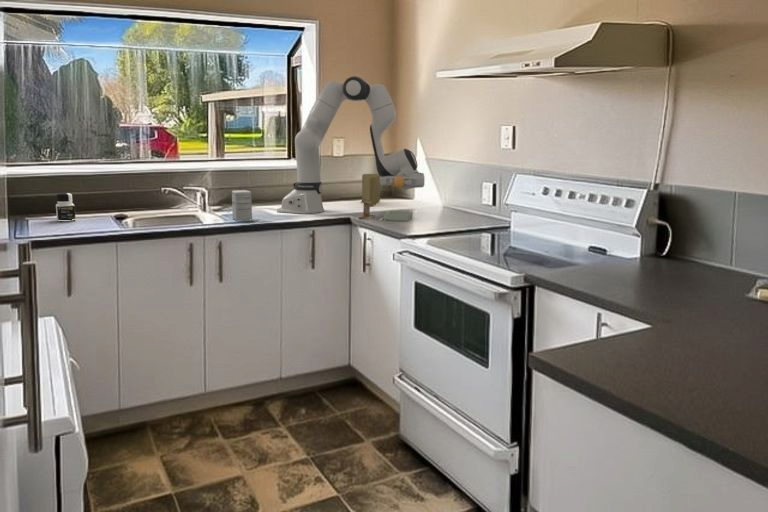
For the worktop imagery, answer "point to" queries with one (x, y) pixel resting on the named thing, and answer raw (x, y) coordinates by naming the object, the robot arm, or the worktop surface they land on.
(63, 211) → the medicine bottle
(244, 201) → the supplement box
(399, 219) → the tray
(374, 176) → the khaki rectangular block
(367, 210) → the tee
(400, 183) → the ball
